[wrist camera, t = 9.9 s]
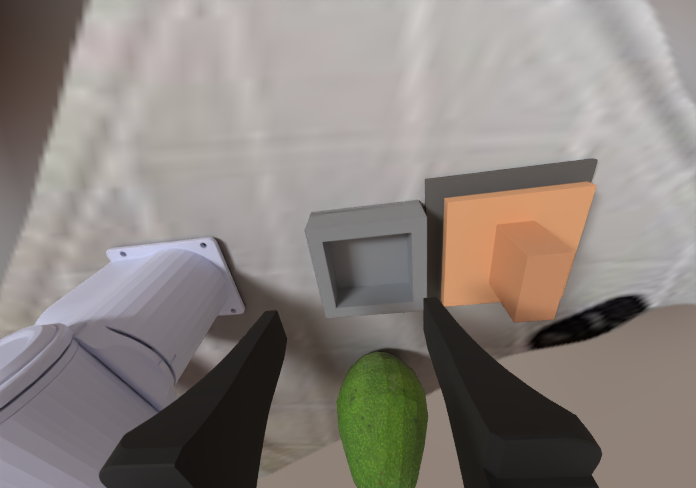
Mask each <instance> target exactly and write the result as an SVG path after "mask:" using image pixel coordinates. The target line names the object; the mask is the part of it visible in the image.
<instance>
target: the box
mask: <svg viewBox="0 0 696 488" xmlns="http://www.w3.org/2000/svg"><path fill="white" fill-rule="evenodd" d="M305 234H306V238H307V242H308V247H309V251H310V255H311V259H312V263H313V267H314V271H315V276H316V280H317V284H318V288H319V292H320V296H321V300H322V305H323V309H324V313H325V317H326V318H337V317H349V316H362V315H375V314H387V313H400V312H413V311H423V298H427V216H426V214H425V212H424V210H423V208H422V206H421V204H420V202H419V201H418V200H414V201H405V202H397V203H388V204H380V205H371V206H362V207H354V208H345V209H337V210H328V211H319V212H311V214H310V217H309V220H308V223H307V225H306V228H305Z"/></svg>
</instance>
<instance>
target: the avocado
mask: <svg viewBox="0 0 696 488" xmlns="http://www.w3.org/2000/svg"><path fill="white" fill-rule="evenodd" d="M337 414H338V428H339V432H340V436H341V440H342V443H343V447H344V451H345V454H346V458H347V461H348V464H349V468H350V471H351V474H352V477H353V480H354V483H355V485H356V486H357V488H415V486H416V483H417V479H418V475H419V469H420V464H421V460H422V455H423V450H424V445H425V437H426V430H427V422H428V412H427V404H426V397H425V392H424V389H423V388H422V386H421V384H420V382H419V380H418V378H417V376H416V374H415V372H414V371H413V370H412V369H411V368H410V367H409V366H408V365H406V364H405V363H404V362H403V361H402V360H401V359H399V358H397V357H396V356H394V355H392V354H390V353H387V352H372V353H369V354H366V355H364V356H362V357H361V358H360V359H359V360H358V361H357V362H356V363H354V364H353V365H352V366H351V368H350V369H349V371H348V373H347V375H346V377H345V379H344V381H343V384H342V387H341V390H340V393H339V396H338V398H337Z"/></svg>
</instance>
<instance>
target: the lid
mask: <svg viewBox="0 0 696 488" xmlns="http://www.w3.org/2000/svg"><path fill="white" fill-rule="evenodd" d="M596 186H597V185H595V184H592V183H590V182H579V183H570V184H562V185H553V186H544V187H536V188H527V189H519V190H510V191H501V192H493V193H484V194H475V195H467V196H458V197H450V198H444V226H443V255H442V285H441V301H442V304H443V305H444V307H445V306H457V305H470V304H482V303H495V302H501V303H502V305H503V306H504V308H505V309H506V311H507V312H508V314H509V315H510V317H511V318H512V320H513V322H525V321H539V320H553V319H554V318H555V314H556V311H557V308H558V305H559V301H560V298H561V297H562V296H563V293H564V290H565V286H566V283H567V280H568V277H569V273H570V270H571V267H572V264H573V261H574V257H575V254H576V251H577V248H578V244H579V241H580V238H581V235H582V232H583V228H584V225H585V222H586V219H587V215H588V212H589V209H590V206H591V203H592V199H593V196H594V193H595V190H596Z"/></svg>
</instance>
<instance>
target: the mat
mask: <svg viewBox="0 0 696 488" xmlns="http://www.w3.org/2000/svg"><path fill="white" fill-rule="evenodd" d="M597 161H598V160H597V159H585V160H577V161H568V162H560V163H552V164H544V165H536V166H528V167H520V168H512V169H503V170H495V171H487V172H479V173H471V174H463V175H455V176H447V177H438V178H430V179H425V214H426V216H427V298H431V297H437V298H438V299H439V300H440V301H441V285H442V255H443V226H444V198H450V197H458V196H467V195H475V194H484V193H493V192H501V191H510V190H519V189H527V188H536V187H544V186H553V185H562V184H570V183H579V182H590V183H591V181H592V177H593V174H594V171H595V167H596V164H597Z"/></svg>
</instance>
